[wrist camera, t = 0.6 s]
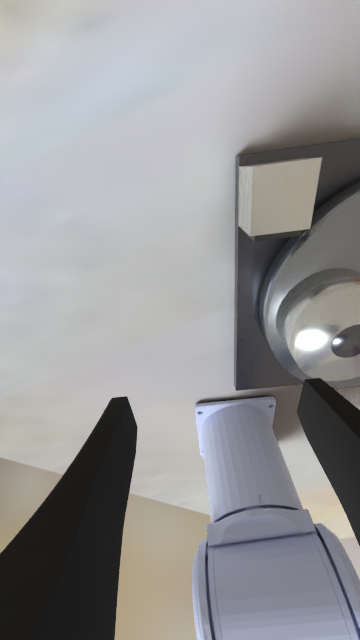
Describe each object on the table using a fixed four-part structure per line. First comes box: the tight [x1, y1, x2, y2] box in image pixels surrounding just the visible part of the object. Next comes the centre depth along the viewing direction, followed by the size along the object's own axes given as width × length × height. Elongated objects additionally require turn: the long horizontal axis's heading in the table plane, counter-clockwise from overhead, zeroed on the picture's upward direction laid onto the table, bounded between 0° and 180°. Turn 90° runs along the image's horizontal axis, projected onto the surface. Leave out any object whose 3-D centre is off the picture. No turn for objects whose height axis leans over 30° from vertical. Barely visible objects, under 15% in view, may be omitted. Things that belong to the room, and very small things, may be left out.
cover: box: [276, 268, 360, 381], centre depth 14 cm, size 6×6×3 cm
